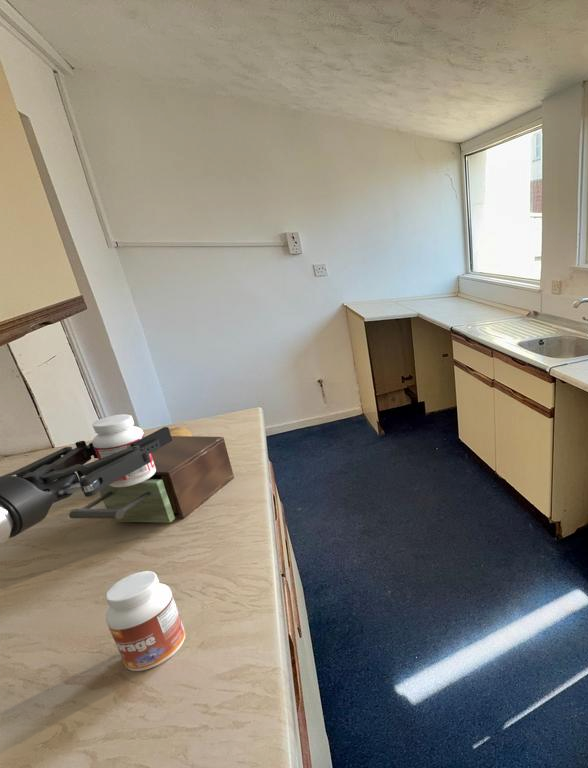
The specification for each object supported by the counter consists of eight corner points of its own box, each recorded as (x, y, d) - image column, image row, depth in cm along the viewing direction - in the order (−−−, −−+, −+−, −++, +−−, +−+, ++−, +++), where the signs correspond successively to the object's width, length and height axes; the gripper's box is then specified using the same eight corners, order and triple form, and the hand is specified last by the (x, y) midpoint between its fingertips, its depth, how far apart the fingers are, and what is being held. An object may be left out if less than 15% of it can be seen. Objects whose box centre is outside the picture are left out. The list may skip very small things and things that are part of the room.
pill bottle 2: (112, 675, 49) (80, 608, 46) (149, 630, 55) (124, 567, 51) (165, 671, 50) (138, 604, 46) (197, 626, 56) (175, 564, 52)
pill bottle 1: (126, 470, 70) (106, 413, 67) (165, 467, 71) (147, 411, 68) (98, 490, 65) (74, 429, 61) (140, 487, 66) (119, 426, 62)
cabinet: (183, 519, 77) (168, 472, 74) (120, 518, 78) (102, 471, 74) (234, 477, 91) (223, 436, 88) (180, 477, 91) (167, 435, 88)
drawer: (137, 548, 69) (121, 506, 66) (73, 547, 69) (54, 505, 66) (220, 482, 88) (210, 447, 85) (170, 481, 88) (158, 446, 85)
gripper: (-76, 540, 50) (104, 451, 72) (71, 542, 50) (207, 452, 72) (-106, 490, 48) (89, 413, 70) (48, 492, 48) (196, 415, 69)
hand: (149, 433), depth 71 cm, fingers closed on pill bottle 1, 6 cm apart
